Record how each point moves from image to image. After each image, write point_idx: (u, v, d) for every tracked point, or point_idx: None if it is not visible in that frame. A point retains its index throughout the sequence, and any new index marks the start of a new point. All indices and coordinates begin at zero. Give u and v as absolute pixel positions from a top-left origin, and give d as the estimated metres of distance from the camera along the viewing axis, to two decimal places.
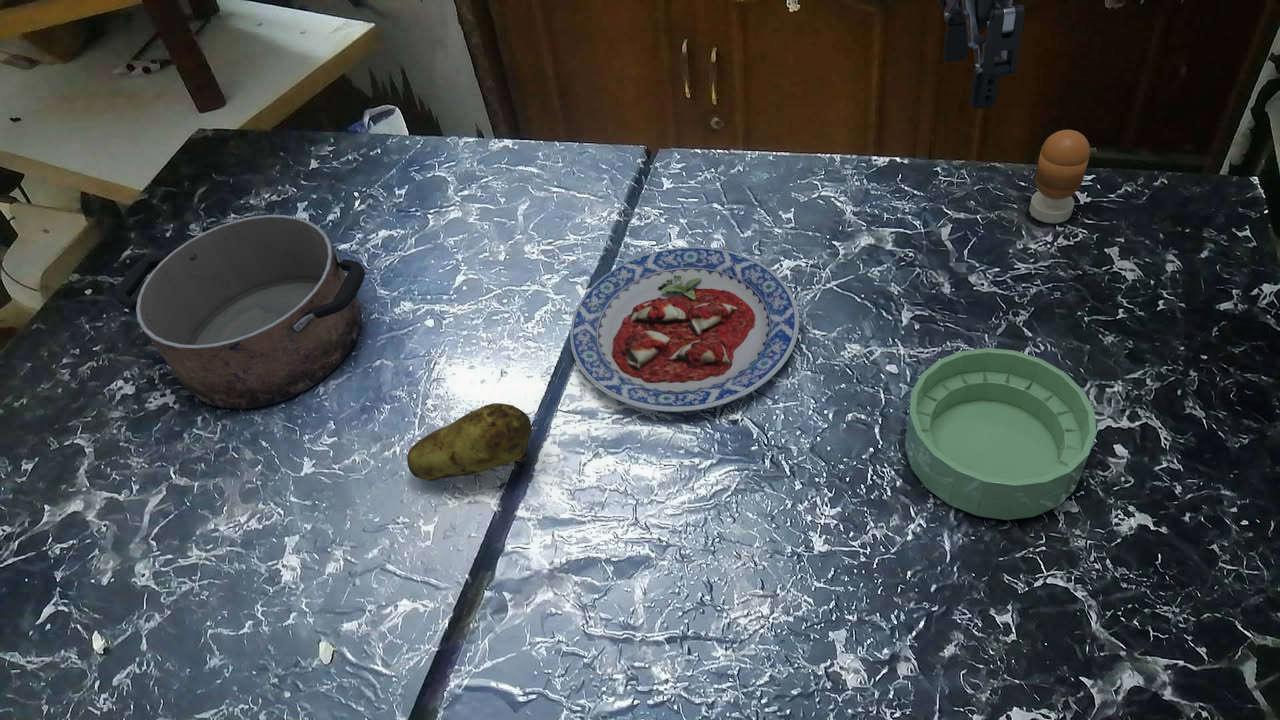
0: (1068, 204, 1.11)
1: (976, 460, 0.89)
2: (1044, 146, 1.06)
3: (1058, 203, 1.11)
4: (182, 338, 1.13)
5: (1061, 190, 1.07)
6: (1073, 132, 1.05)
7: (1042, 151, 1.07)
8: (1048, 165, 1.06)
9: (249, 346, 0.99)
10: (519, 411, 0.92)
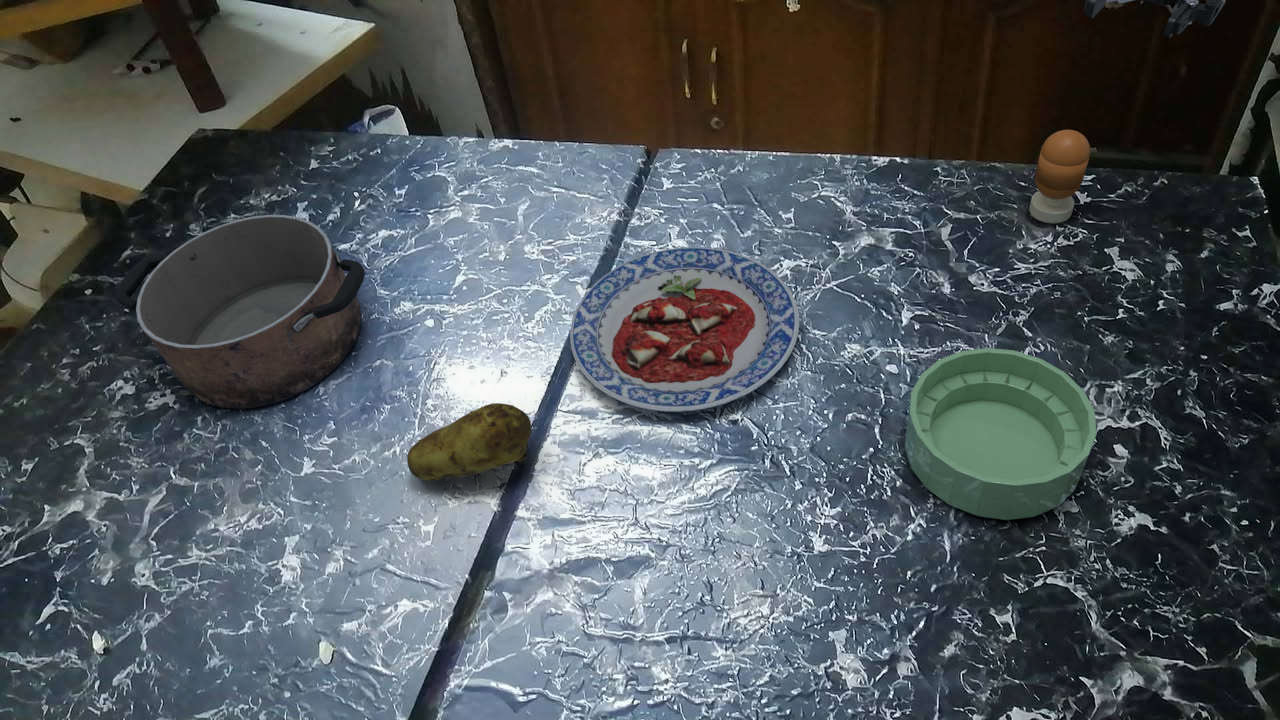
0: (1068, 204, 1.11)
1: (976, 460, 0.89)
2: (1044, 146, 1.06)
3: (1058, 203, 1.11)
4: (182, 338, 1.13)
5: (1061, 190, 1.07)
6: (1073, 132, 1.05)
7: (1042, 151, 1.07)
8: (1048, 165, 1.06)
9: (249, 346, 0.99)
10: (519, 411, 0.92)
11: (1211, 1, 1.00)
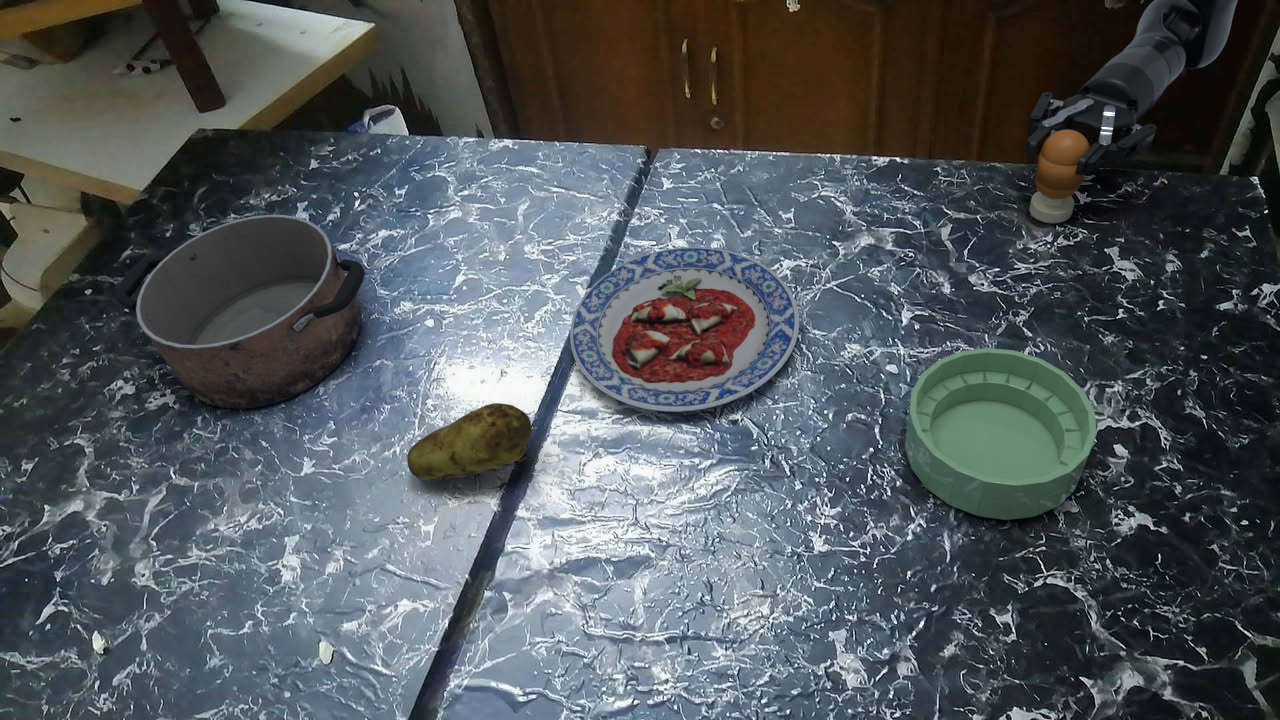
0: (1069, 203, 1.11)
1: (976, 460, 0.89)
2: (1044, 146, 1.06)
3: (1058, 203, 1.11)
4: (182, 338, 1.13)
5: (1061, 190, 1.07)
6: (1073, 132, 1.05)
7: (1042, 151, 1.07)
8: (1048, 165, 1.06)
9: (249, 346, 0.99)
10: (519, 411, 0.92)
11: (1122, 142, 1.03)
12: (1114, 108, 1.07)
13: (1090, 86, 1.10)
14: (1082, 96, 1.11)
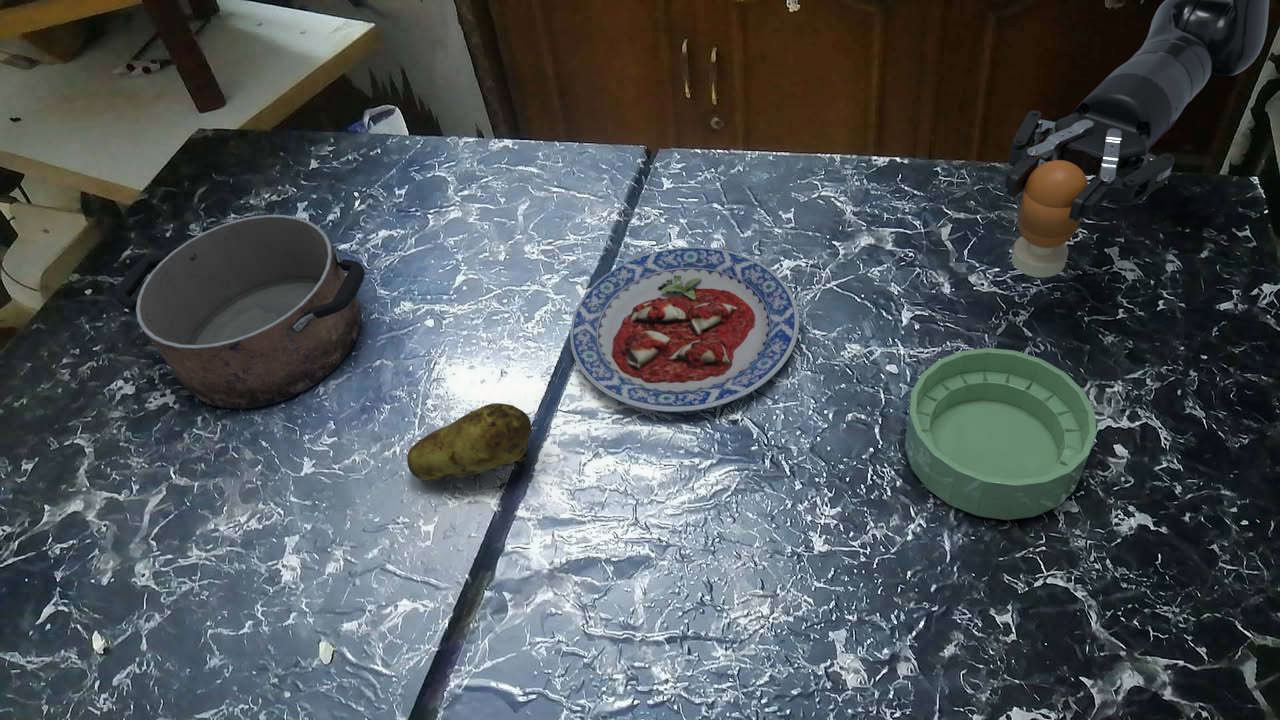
0: (1061, 253, 0.87)
1: (976, 460, 0.89)
2: (1029, 181, 0.82)
3: (1048, 252, 0.87)
4: (182, 338, 1.13)
5: (1051, 237, 0.83)
6: (1066, 164, 0.81)
7: (1026, 187, 0.83)
8: (1034, 206, 0.82)
9: (249, 346, 0.99)
10: (519, 411, 0.92)
11: (1130, 178, 0.80)
12: (1120, 132, 0.83)
13: (1089, 103, 0.86)
14: (1079, 115, 0.87)
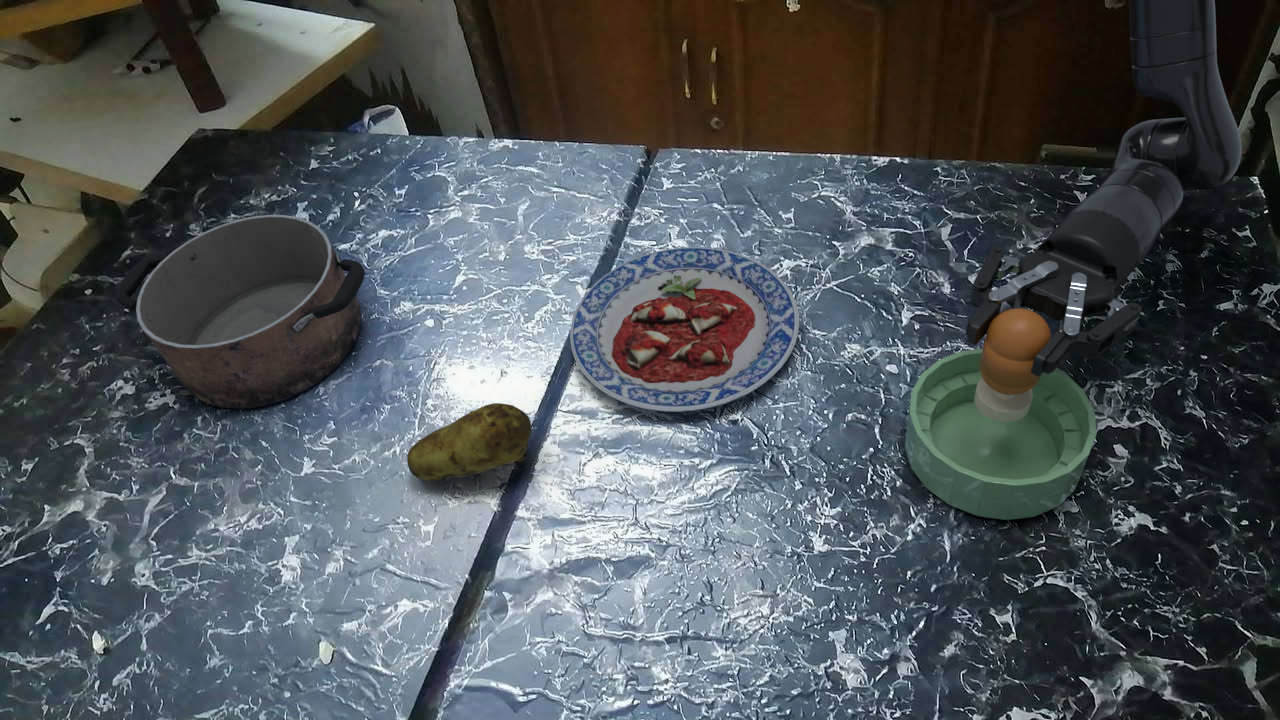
0: (1025, 397, 0.83)
1: (976, 460, 0.89)
2: (990, 330, 0.79)
3: (1011, 396, 0.83)
4: (182, 338, 1.13)
5: (1013, 387, 0.80)
6: (1028, 315, 0.77)
7: (987, 336, 0.79)
8: (995, 356, 0.78)
9: (249, 346, 0.99)
10: (519, 411, 0.92)
11: (1095, 332, 0.76)
12: (1085, 278, 0.79)
13: (1054, 242, 0.82)
14: (1044, 253, 0.83)
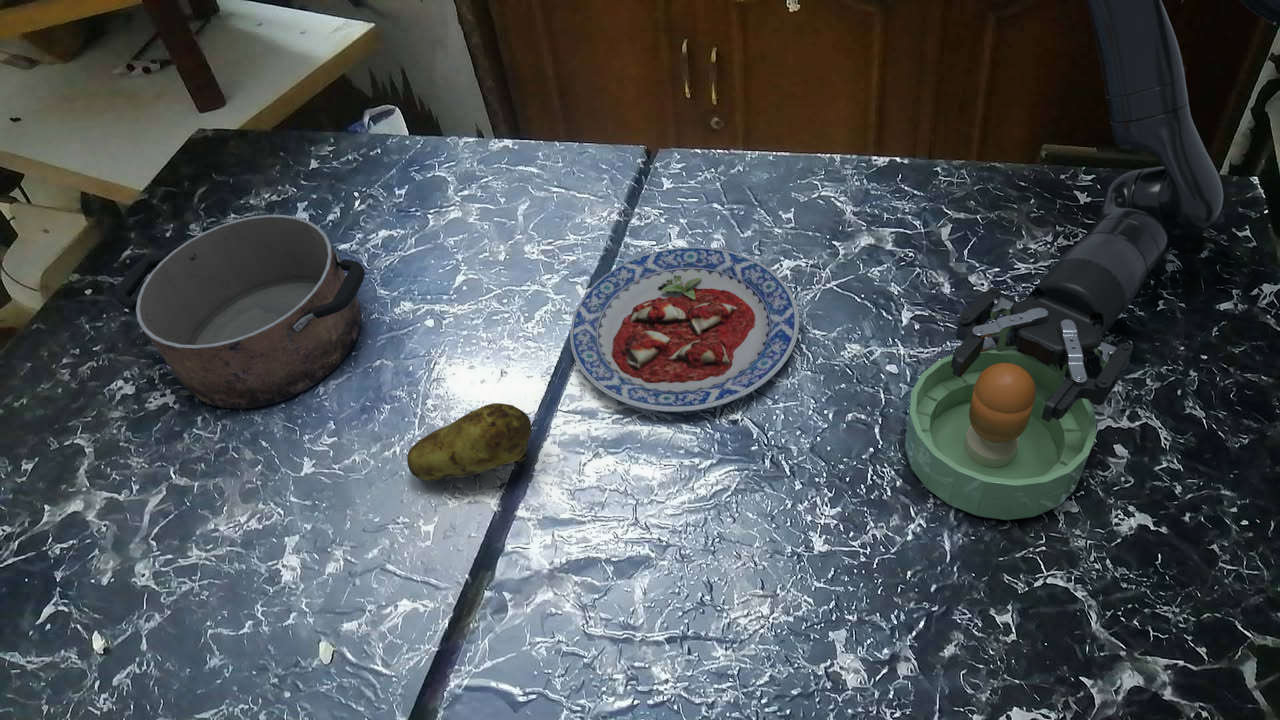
0: (1012, 444, 0.88)
1: None
2: (978, 383, 0.84)
3: (999, 443, 0.88)
4: (182, 338, 1.13)
5: (1000, 436, 0.85)
6: (1014, 370, 0.82)
7: (975, 389, 0.84)
8: (982, 408, 0.83)
9: (249, 346, 0.99)
10: (519, 411, 0.92)
11: (1102, 380, 0.79)
12: (1073, 324, 0.83)
13: (1044, 289, 0.86)
14: (1034, 299, 0.87)
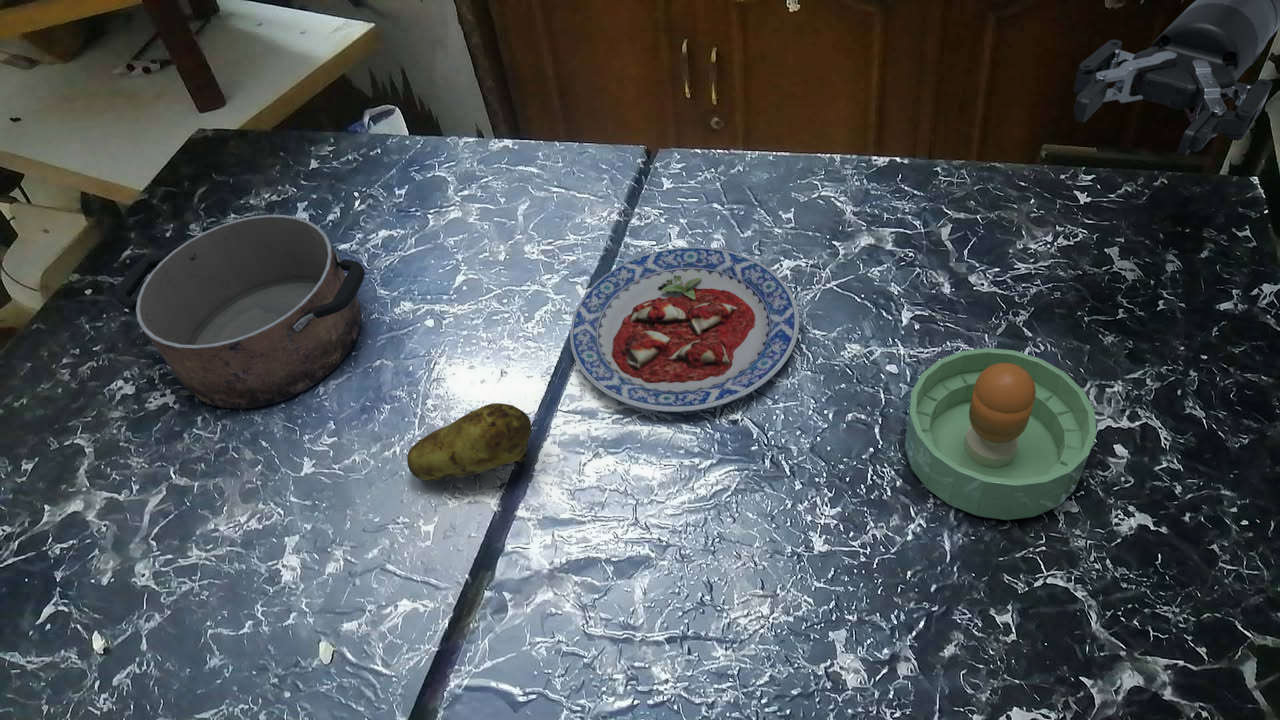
0: (1012, 444, 0.88)
1: None
2: (978, 383, 0.84)
3: (999, 443, 0.88)
4: (182, 338, 1.13)
5: (1000, 436, 0.85)
6: (1014, 370, 0.82)
7: (975, 389, 0.84)
8: (982, 408, 0.83)
9: (249, 346, 0.99)
10: (519, 411, 0.92)
11: (1243, 108, 0.74)
12: (1206, 62, 0.78)
13: (1170, 35, 0.81)
14: (1159, 48, 0.82)
